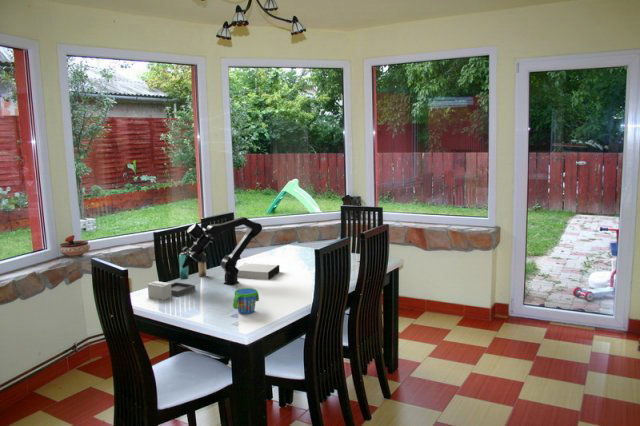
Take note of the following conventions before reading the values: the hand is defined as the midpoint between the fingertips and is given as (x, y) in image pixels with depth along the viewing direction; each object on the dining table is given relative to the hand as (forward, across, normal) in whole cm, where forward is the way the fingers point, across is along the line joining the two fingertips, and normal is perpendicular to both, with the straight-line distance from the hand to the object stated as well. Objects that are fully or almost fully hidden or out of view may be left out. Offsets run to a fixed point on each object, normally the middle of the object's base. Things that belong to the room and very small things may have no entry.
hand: (181, 266), depth 272 cm
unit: (+18, -5, 0) cm, 19 cm away
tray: (+11, 0, -7) cm, 13 cm away
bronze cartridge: (-4, +24, -23) cm, 33 cm away
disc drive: (-24, +10, -44) cm, 51 cm away
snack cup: (-2, -50, -20) cm, 54 cm away
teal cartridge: (+4, 0, -6) cm, 7 cm away
